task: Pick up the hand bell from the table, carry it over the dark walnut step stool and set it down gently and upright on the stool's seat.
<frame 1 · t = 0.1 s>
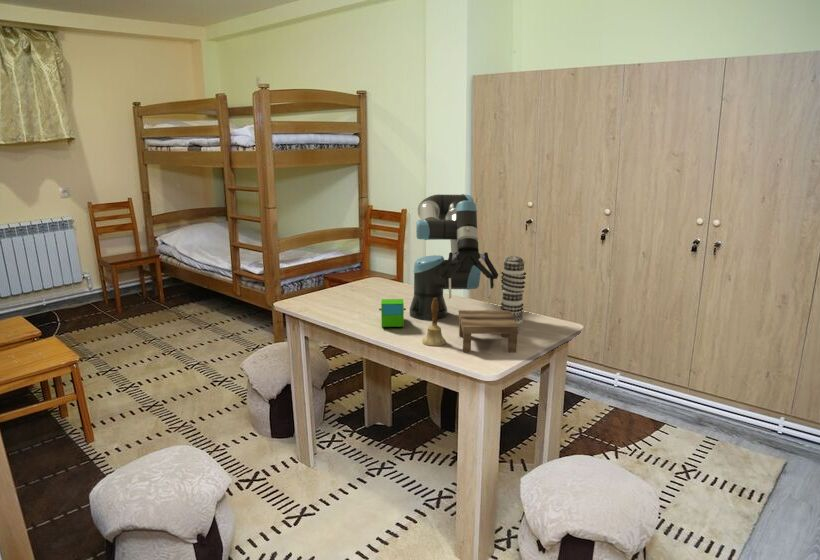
hand: (469, 297, 195), 15 cm above the table, tool tilted 35°, fingers open, 13 cm apart
decorative candle: (511, 321, 219), on the table
hand bell: (434, 342, 196), on the table
walnut stool: (486, 343, 195), on the table
toy car: (392, 324, 215), on the table
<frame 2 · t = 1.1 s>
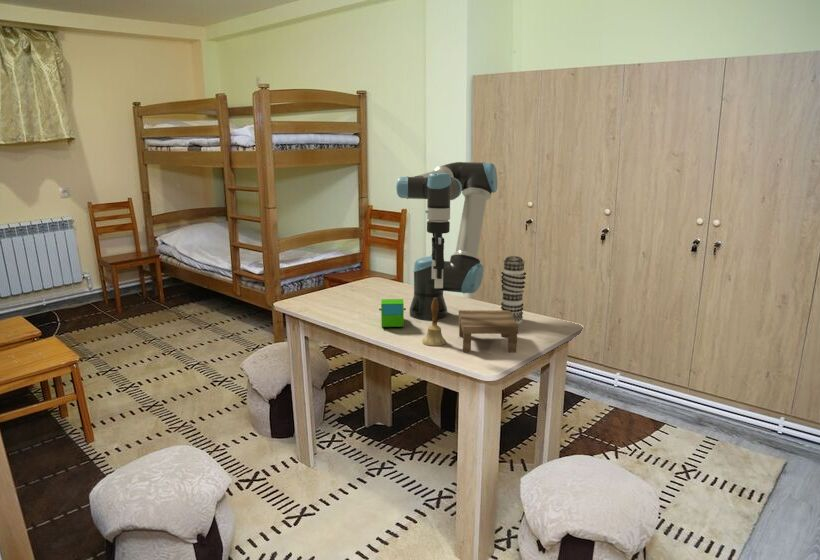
hand: (437, 283, 191), 21 cm above the table, tool pointing down, fingers open, 13 cm apart
nothing on the table moved.
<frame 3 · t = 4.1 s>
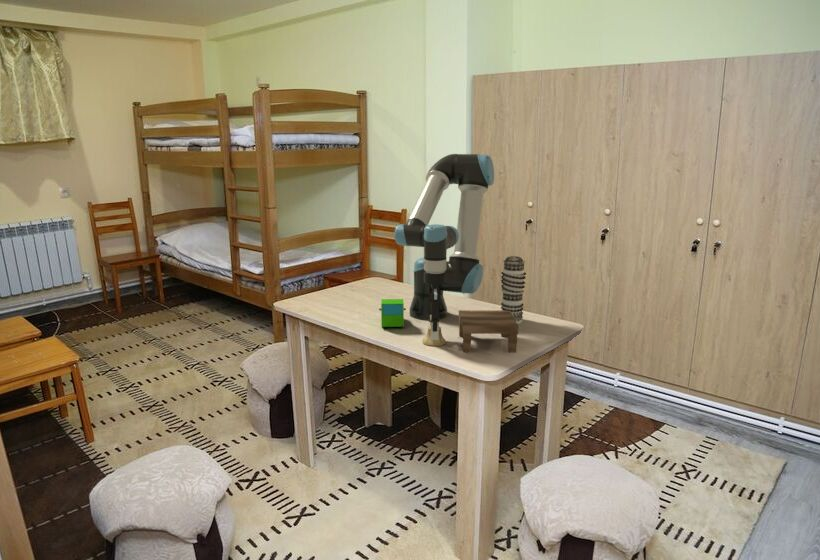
hand: (434, 336, 195), 2 cm above the table, tool pointing down, fingers closed on hand bell, 6 cm apart
hand bell: (434, 342, 196), on the table, touching gripper
everything else where it was.
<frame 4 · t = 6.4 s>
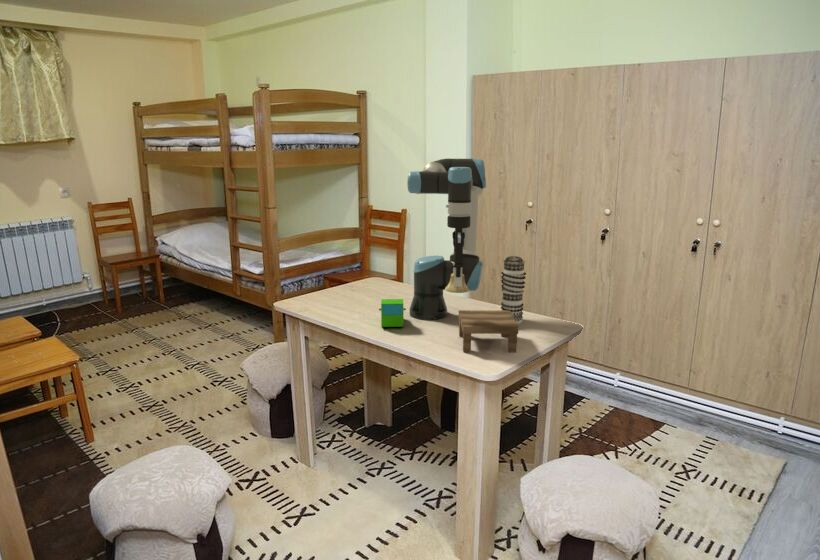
hand: (457, 283, 190), 21 cm above the table, tool pointing down, fingers closed on hand bell, 6 cm apart
hand bell: (457, 290, 191), point 19 cm above the table, touching gripper
everything else where it was.
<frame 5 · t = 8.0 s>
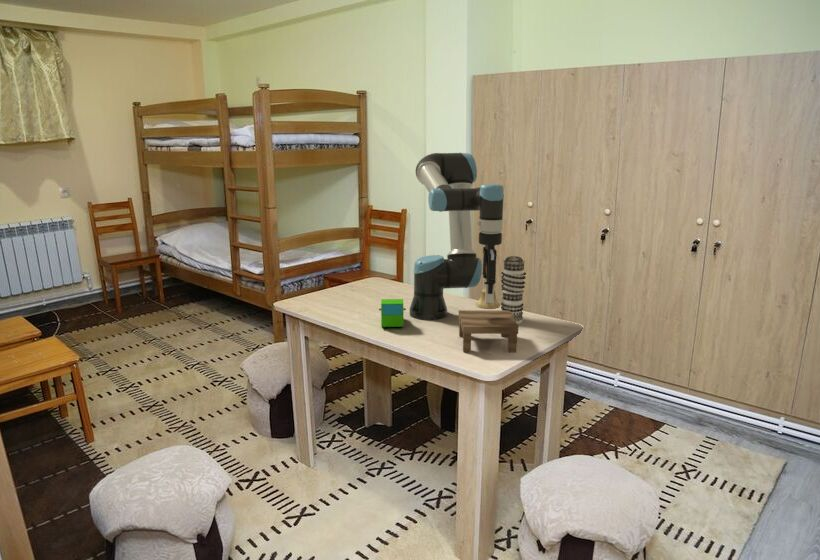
hand: (488, 299, 191), 16 cm above the table, tool pointing down, fingers closed on hand bell, 6 cm apart
hand bell: (487, 306, 192), point 13 cm above the table, touching gripper
everything else where it was.
when the fingers open (13 cm above the table, at t = 9.2 s): hand bell drops 2 cm, resting on walnut stool.
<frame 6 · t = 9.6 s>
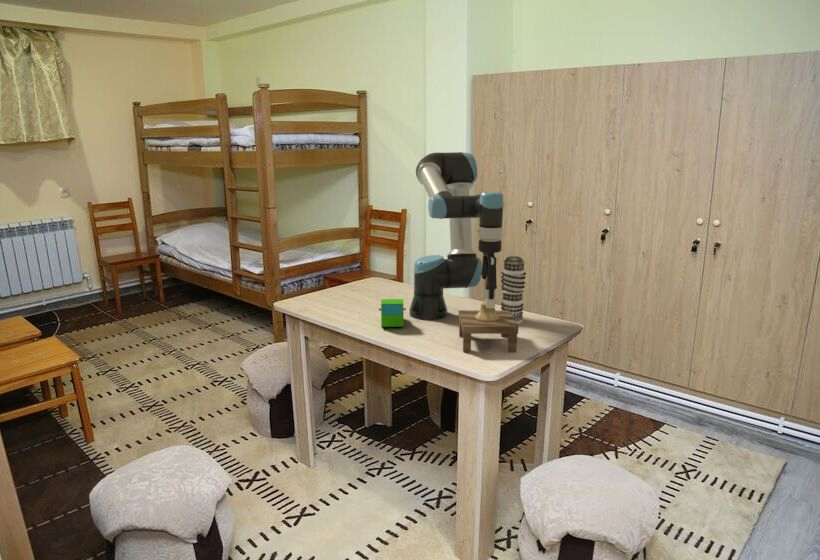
hand: (487, 302, 191), 15 cm above the table, tool pointing down, fingers open, 12 cm apart
hand bell: (487, 318, 193), point 9 cm above the table, touching walnut stool
everything else where it was.
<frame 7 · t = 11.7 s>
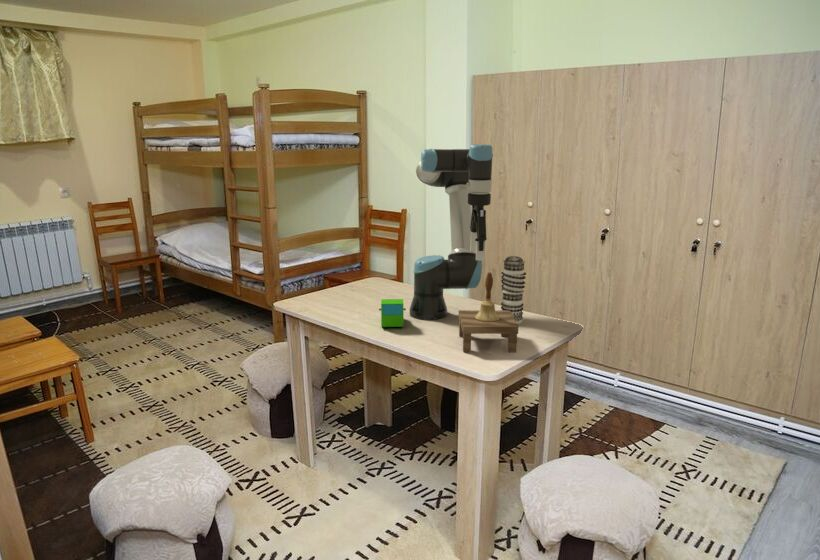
hand: (477, 255, 192), 30 cm above the table, tool pointing down, fingers open, 13 cm apart
nothing on the table moved.
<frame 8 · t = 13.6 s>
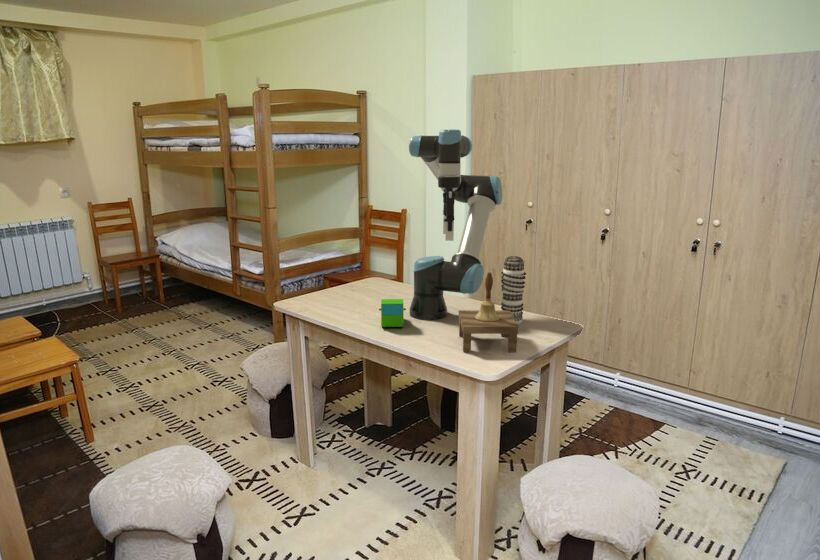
hand: (448, 237, 199), 35 cm above the table, tool pointing down, fingers open, 13 cm apart
nothing on the table moved.
at the end: hand bell inside the target area on the walnut stool (0.1 cm from its centre), point 8.8 cm above the walnut stool's base; hand bell tilted 0°; the gripper is holding nothing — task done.
